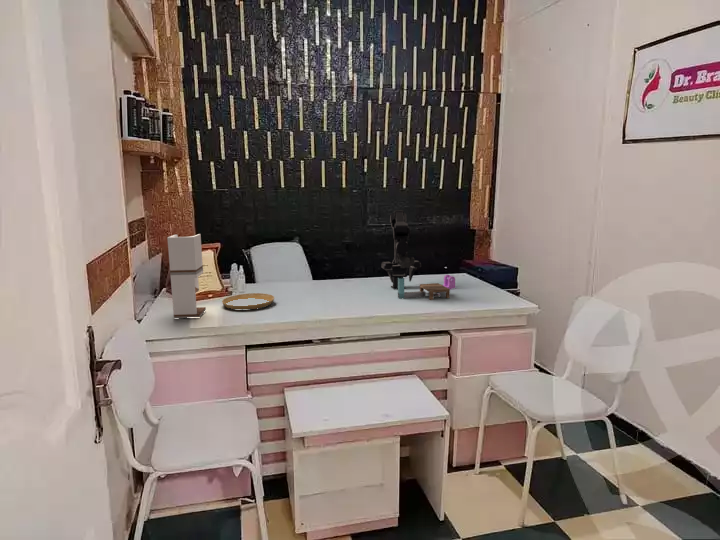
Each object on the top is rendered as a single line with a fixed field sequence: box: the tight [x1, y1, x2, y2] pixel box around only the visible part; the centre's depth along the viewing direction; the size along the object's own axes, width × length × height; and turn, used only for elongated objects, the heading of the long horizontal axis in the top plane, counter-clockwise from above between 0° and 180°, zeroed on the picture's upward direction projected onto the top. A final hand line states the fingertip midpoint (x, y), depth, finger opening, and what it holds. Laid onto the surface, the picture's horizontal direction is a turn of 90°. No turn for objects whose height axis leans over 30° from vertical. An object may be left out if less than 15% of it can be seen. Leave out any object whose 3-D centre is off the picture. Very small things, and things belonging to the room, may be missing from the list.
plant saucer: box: [221, 292, 275, 310], centre depth 229 cm, size 24×24×3 cm
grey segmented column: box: [166, 233, 206, 319], centre depth 209 cm, size 11×11×35 cm
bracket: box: [442, 274, 456, 290], centre depth 259 cm, size 13×6×7 cm, turn 111°
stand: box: [419, 282, 451, 301], centre depth 243 cm, size 15×10×5 cm, turn 13°
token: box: [433, 292, 441, 298], centre depth 244 cm, size 5×5×1 cm
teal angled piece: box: [397, 277, 427, 300], centre depth 240 cm, size 2×14×10 cm, turn 103°
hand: (401, 282), depth 239 cm, fingers open, 9 cm apart
